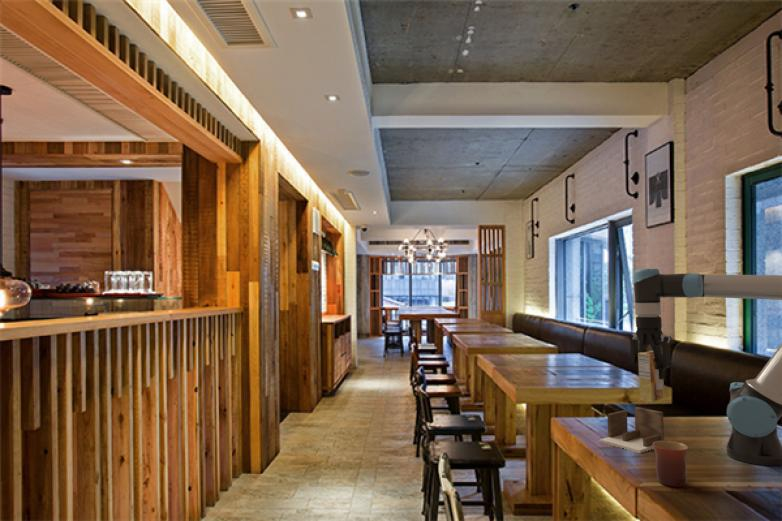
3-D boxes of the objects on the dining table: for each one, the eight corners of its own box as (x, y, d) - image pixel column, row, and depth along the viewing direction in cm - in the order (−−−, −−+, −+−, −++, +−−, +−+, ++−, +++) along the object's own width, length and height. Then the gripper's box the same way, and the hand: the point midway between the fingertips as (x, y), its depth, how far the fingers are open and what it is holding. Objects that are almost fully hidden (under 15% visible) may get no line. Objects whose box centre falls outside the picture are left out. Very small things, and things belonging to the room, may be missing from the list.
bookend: (664, 445, 176) (663, 412, 177) (647, 450, 171) (646, 416, 171) (638, 438, 184) (637, 407, 184) (621, 443, 179) (620, 411, 179)
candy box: (652, 396, 172) (649, 350, 173) (665, 398, 169) (662, 351, 170) (639, 400, 166) (637, 352, 167) (652, 402, 163) (650, 353, 164)
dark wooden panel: (627, 435, 187) (626, 410, 188) (610, 440, 182) (609, 414, 182) (625, 435, 188) (624, 410, 189) (608, 439, 183) (607, 414, 183)
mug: (686, 492, 136) (684, 452, 137) (650, 484, 142) (648, 446, 142) (694, 478, 145) (693, 441, 146) (660, 471, 151) (659, 436, 152)
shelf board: (665, 445, 176) (665, 442, 176) (639, 453, 168) (639, 450, 168) (625, 435, 188) (625, 432, 188) (599, 442, 180) (599, 439, 180)
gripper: (681, 316, 164) (685, 390, 162) (630, 314, 179) (633, 383, 177) (668, 317, 160) (672, 393, 158) (616, 315, 174) (620, 385, 173)
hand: (651, 388), depth 168 cm, fingers closed on candy box, 4 cm apart
